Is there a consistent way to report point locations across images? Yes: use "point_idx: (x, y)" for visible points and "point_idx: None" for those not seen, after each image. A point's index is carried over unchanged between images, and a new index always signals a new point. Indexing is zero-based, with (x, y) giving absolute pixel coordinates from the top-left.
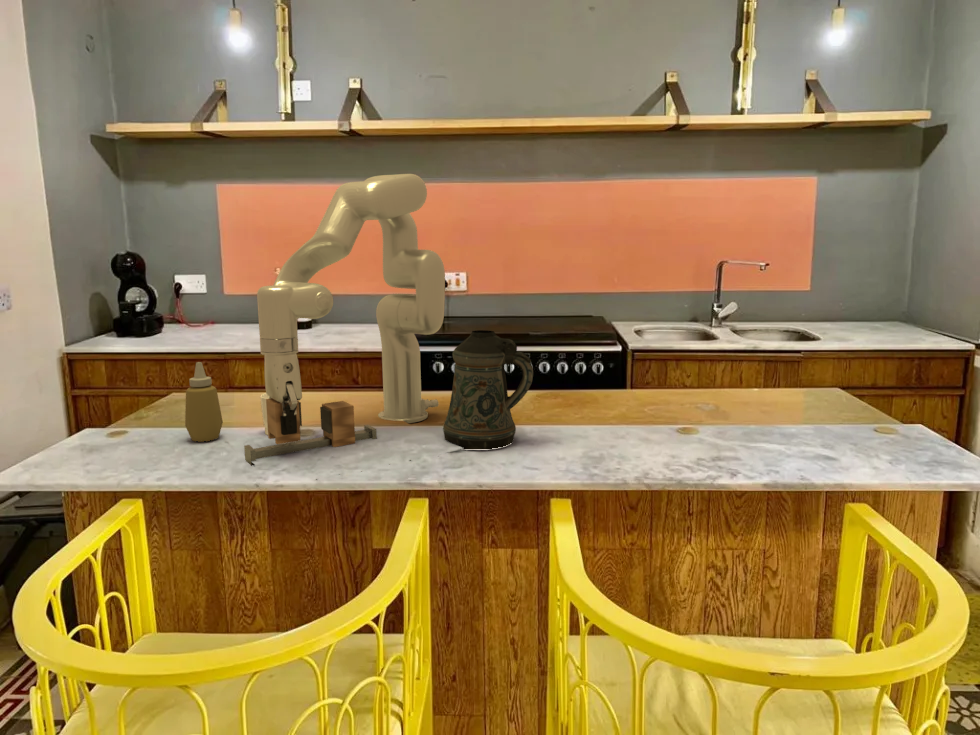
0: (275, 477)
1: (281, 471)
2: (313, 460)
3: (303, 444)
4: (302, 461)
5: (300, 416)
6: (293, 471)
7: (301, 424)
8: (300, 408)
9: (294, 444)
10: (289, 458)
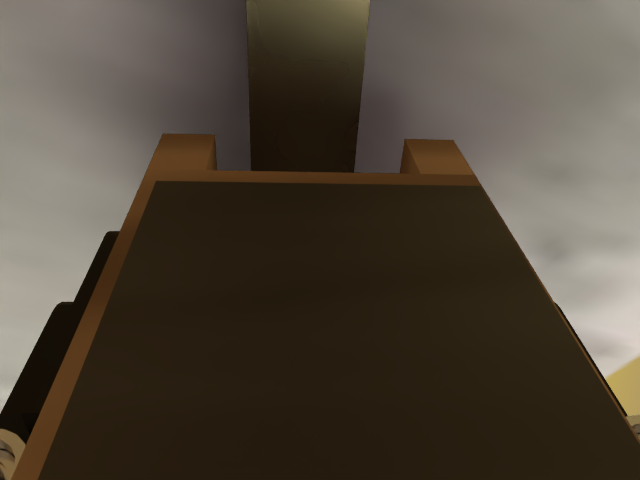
0: (624, 314)
1: (567, 268)
2: (546, 25)
3: (363, 58)
4: (499, 105)
5: (526, 281)
6: (628, 220)
7: (483, 199)
8: (591, 385)
9: (343, 142)
10: (363, 154)
